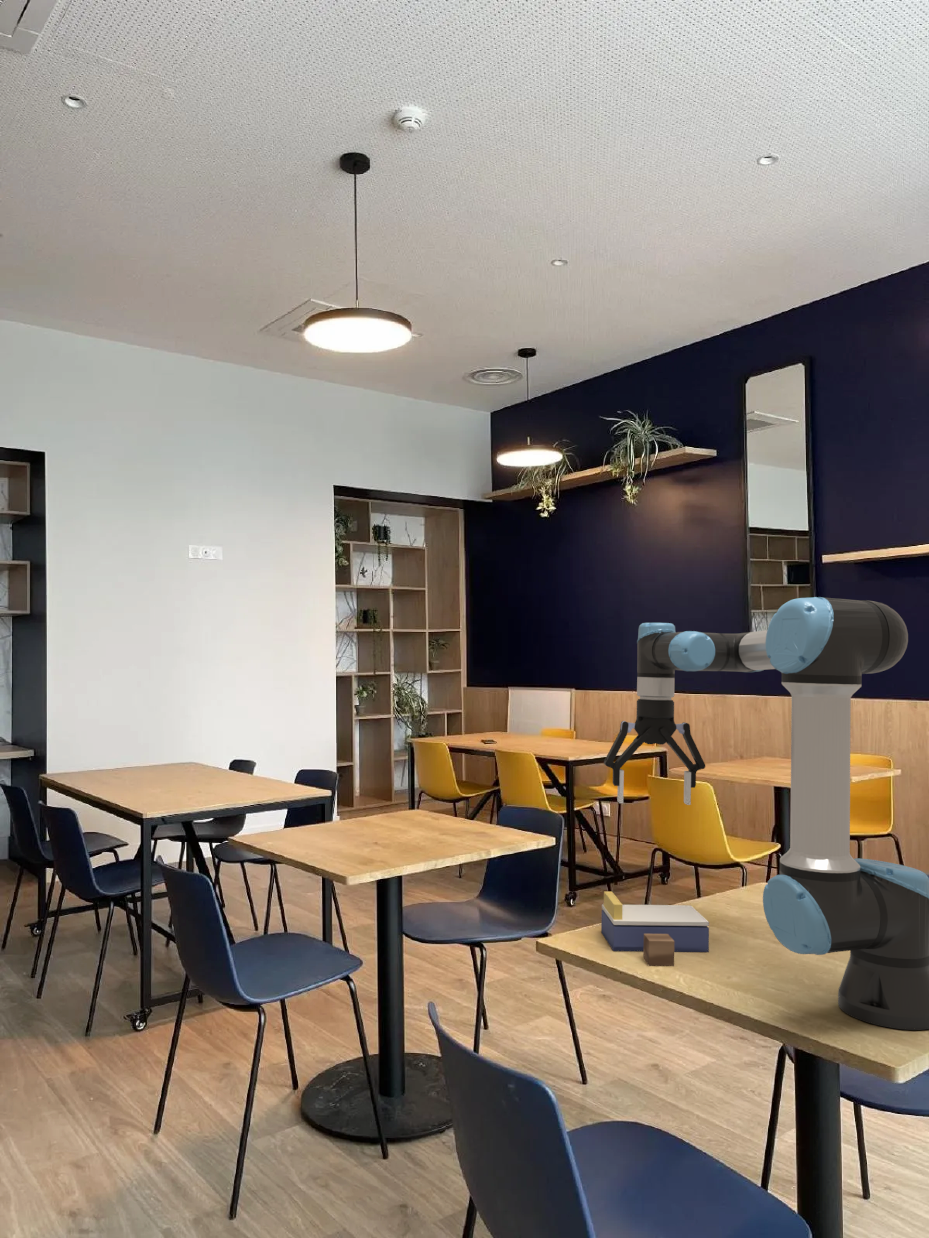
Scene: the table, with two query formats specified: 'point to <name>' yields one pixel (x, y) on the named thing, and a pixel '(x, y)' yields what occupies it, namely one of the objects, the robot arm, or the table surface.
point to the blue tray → (634, 934)
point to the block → (658, 950)
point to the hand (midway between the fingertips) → (653, 803)
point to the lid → (650, 913)
